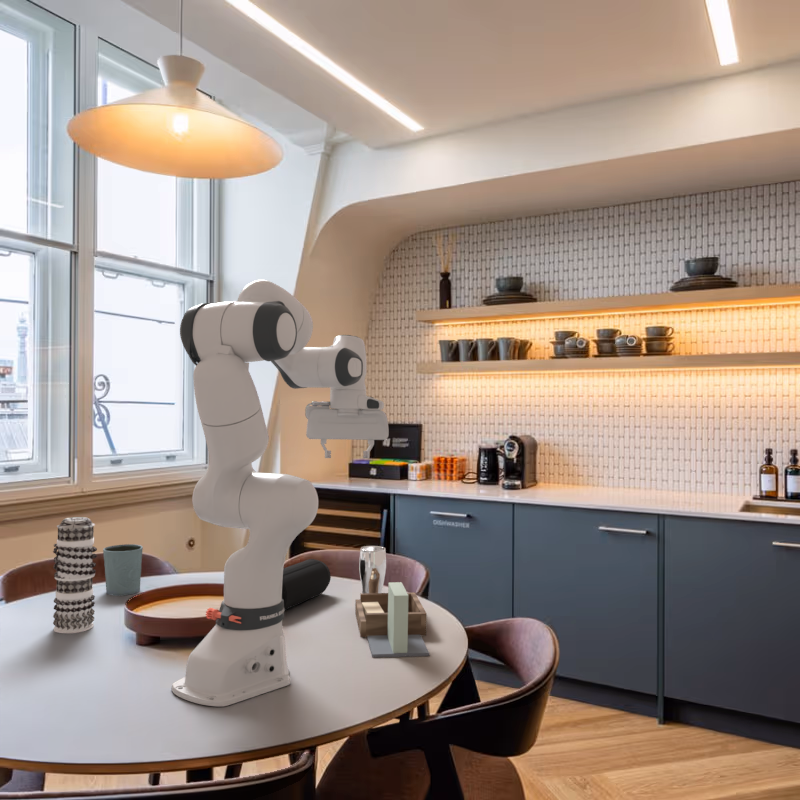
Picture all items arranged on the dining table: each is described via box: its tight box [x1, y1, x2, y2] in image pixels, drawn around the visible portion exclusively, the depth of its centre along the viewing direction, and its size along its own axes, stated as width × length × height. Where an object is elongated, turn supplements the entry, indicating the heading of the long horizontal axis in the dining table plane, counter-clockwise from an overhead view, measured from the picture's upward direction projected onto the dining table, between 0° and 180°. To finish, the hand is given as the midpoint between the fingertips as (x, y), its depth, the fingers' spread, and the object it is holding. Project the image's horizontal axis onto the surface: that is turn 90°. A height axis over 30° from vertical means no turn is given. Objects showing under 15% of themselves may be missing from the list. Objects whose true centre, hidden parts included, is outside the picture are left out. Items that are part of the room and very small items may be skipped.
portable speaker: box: [282, 558, 332, 611], centre depth 186 cm, size 26×10×10 cm, turn 155°
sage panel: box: [387, 581, 408, 653], centre depth 155 cm, size 11×3×12 cm, turn 7°
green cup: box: [102, 543, 144, 596], centre depth 196 cm, size 10×10×12 cm
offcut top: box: [362, 602, 384, 619], centre depth 171 cm, size 11×4×2 cm, turn 12°
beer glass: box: [358, 545, 387, 593], centre depth 186 cm, size 7×7×15 cm
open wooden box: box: [354, 592, 428, 638], centre depth 171 cm, size 18×15×5 cm
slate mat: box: [366, 634, 430, 658], centre depth 155 cm, size 12×12×1 cm
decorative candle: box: [52, 516, 98, 635], centre depth 164 cm, size 9×9×25 cm
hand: (347, 458), depth 176 cm, fingers open, 8 cm apart
